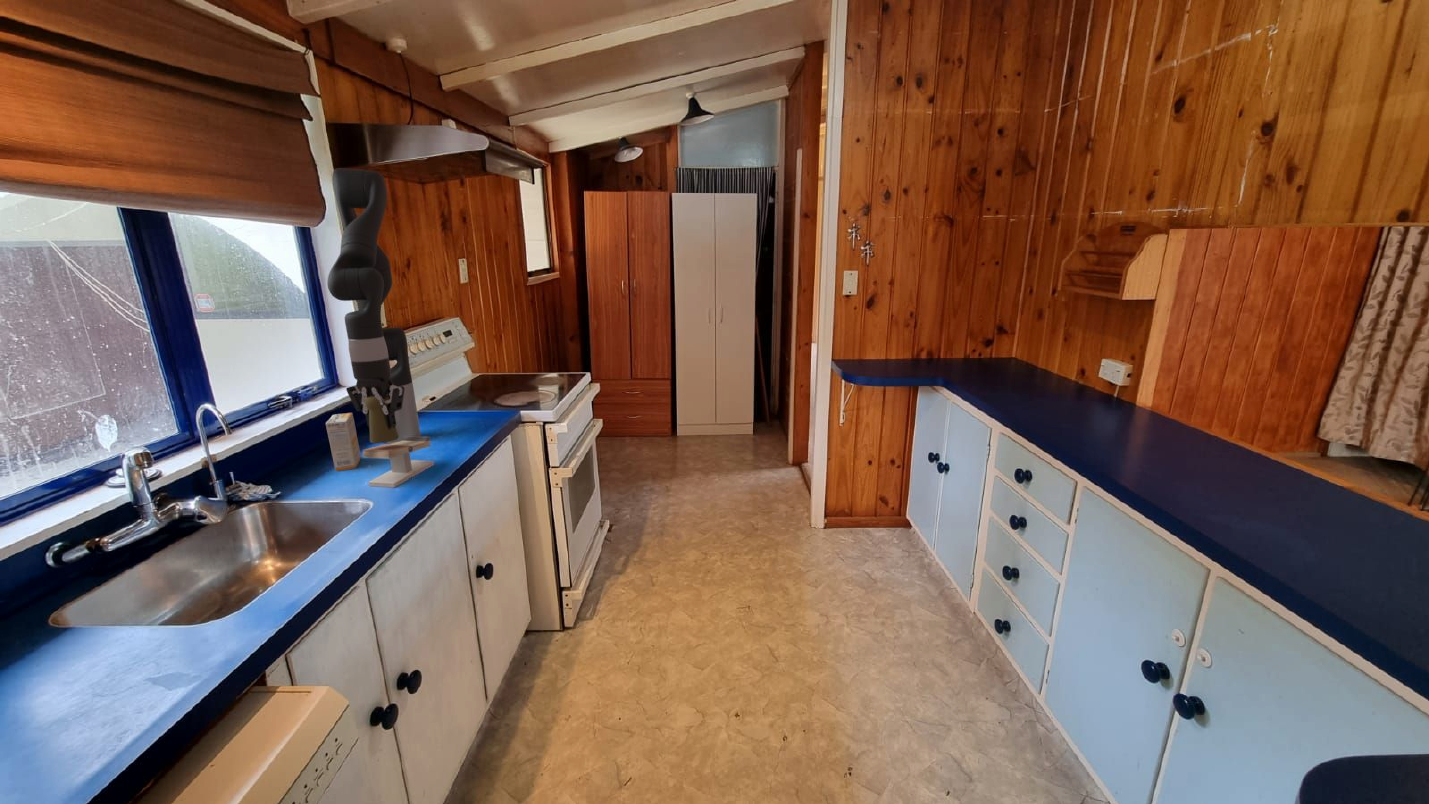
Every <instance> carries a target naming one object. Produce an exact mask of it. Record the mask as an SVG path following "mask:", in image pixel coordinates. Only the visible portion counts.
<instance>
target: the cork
mask: <svg viewBox="0 0 1429 804" xmlns="http://www.w3.org/2000/svg"><path fill="white" fill-rule="evenodd" d="M383 400H384V401H387V400H389V397H387V398H384V399H383ZM379 401H380V400H378V399H377V398H376V397H375V396H368V397H367V398H366V399H365V405H366V407H367V408H368V409H369V426H368V428H370V429H369V442H370V443H372V444H385V442H390V441H393V440H396V439H398V438H399V437H398V434H397V431H396V428H393V427H391V429H388V427H387V424H386V420H385V417H384V415H385V414H384V412H383V410H382V408H383V406H382V405H380V402H379ZM389 405H390V403H388V404H387V407H388V408H389Z"/></svg>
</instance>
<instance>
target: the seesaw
mask: <svg viewBox="0 0 1429 804" xmlns="http://www.w3.org/2000/svg"><path fill="white" fill-rule="evenodd" d="M402 439H403V441H399V442H395V443H392V444H387V443H386V444H385V443H382V444H381V445H377V446H373V447H369V448H366V449H363V450H362V455H363V457H362V458H366V459H386V460H390V458H393V457H397V456H400V455H403V454H406V453H409V454H410V453H412V452H416V451H419V450H422V449H425V448H428V447H431V446H432V445H431V436H426V435H423V436H422V435H421V436H403V437H402Z"/></svg>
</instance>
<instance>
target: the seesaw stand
mask: <svg viewBox="0 0 1429 804" xmlns="http://www.w3.org/2000/svg"><path fill="white" fill-rule="evenodd" d="M389 461H390V467H391V469H390V470H387V472H385V473H382V474H381V475H379V476H377V477H375V478H373V479H371V480H369V481H368V483H367V484H368V486H369V487H378V488H379V487H380V488H381V487H382V488H395V487H398V486H399V485H401V484H403V483H405V482H406V481H409V480H410V479H412V478H413V477H415V476H417V475H419V474H420V473H422V472H424V471H425V469H426V470H428V469H429V468H431V467H433V466H434V465H435V462H434V460H417V459H411V455H410V453H406V454H403V455H400V456H397V457H393V458H390V459H389ZM411 477H412V478H411ZM409 478H410V479H409Z"/></svg>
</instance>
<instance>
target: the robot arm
mask: <svg viewBox="0 0 1429 804" xmlns="http://www.w3.org/2000/svg"><path fill="white" fill-rule="evenodd" d="M331 177H332V189H333V192H334V197H335V200H336V205H337V208H338V212H339V216H340V220H341V224H342V229H343V232H342V235H341V242H340V251H339V252H340V253H339V255H338V256H337V258H336V260H335V262H334V264H333V266H332V267H331V268H330V271H329V273H328V276H327V289H328V291H329V293H330V294H331V296H332V297H334V299H336V300H339V301H343V302H347V301H348V302H350V301H356V304H357V310H354V311H350V312H348V313H346V314H345V316H344V324H345V329H346V336H347V341H348V353H349V358H350V364H351V367H352V368H351V369H352V374H353V378H354V379H355V380H356V384H355V385H351V386H348V387H346V392H347V395H348V397H349V399H350V400H351V403H352V404H353V407H354V408H355V411H356V412H362V413H363V414H364V416H365V420H366V425H367V427H368V428H369V409H368V408H367V407H366V405H365V399H366V398H367V397H368V396H375V397H376V398H377V399H378V400H380V401H379V402H380V405H382V406H383V408H382V410H383V412H384V414H385V415H384V417H385V420H386V424H387V427H388V429H391V427H393V428H396V431H397V434H398V437H399V438H398V439H396V440H393V441H390V442H385V443H386V444H392V443H395V442H399V441H403V439H402V437H403V436H422V433H421V428H420V427H421V426H420V421H419V415H418V408H417V401H416V395H415V390H414V384H413V378H412V372H411V367H410V366H411V365H410V359H409V348H408V347H409V345H408V340H407V335H406V332H405V331H404V329H403V328H401V327H383V325H382V315H381V312H382V305H383V303H384V302H385V300H386V299H387V297H388V295H389V293H390V292H391V290H392V286H393V278H392V269H391V264H390V260H389V257H388V256H387V254H386V252H384V250H383V249H382V248H381V247H380V245H379V244H378V238H379V233H380V229H381V225H382V223H383V218H384V215H385V211H386V207H387V201H388V192H387V186H386V185H387V184H386V181H385V178H384V176H383V175H382V173H380V172H379V171H378V170H377V171H376V170H371V169H358V168H345V167H344V168H343V167H338V168H335V169H334V170H333V172H332V175H331ZM356 209H359V210H360V209H362V210H363V211H362V212H361V213H360V214H359V215H357V213H356V212H357V211H356ZM392 361H396V363H395V364H394V365H393V366H391V365H390V364H391V363H390V362H392ZM387 397H389V400H387V401H384V400H383V399H384V398H387ZM388 403H390V405H389V408H388V407H387V404H388ZM369 430H370V428H369ZM385 443H384V444H385Z"/></svg>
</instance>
